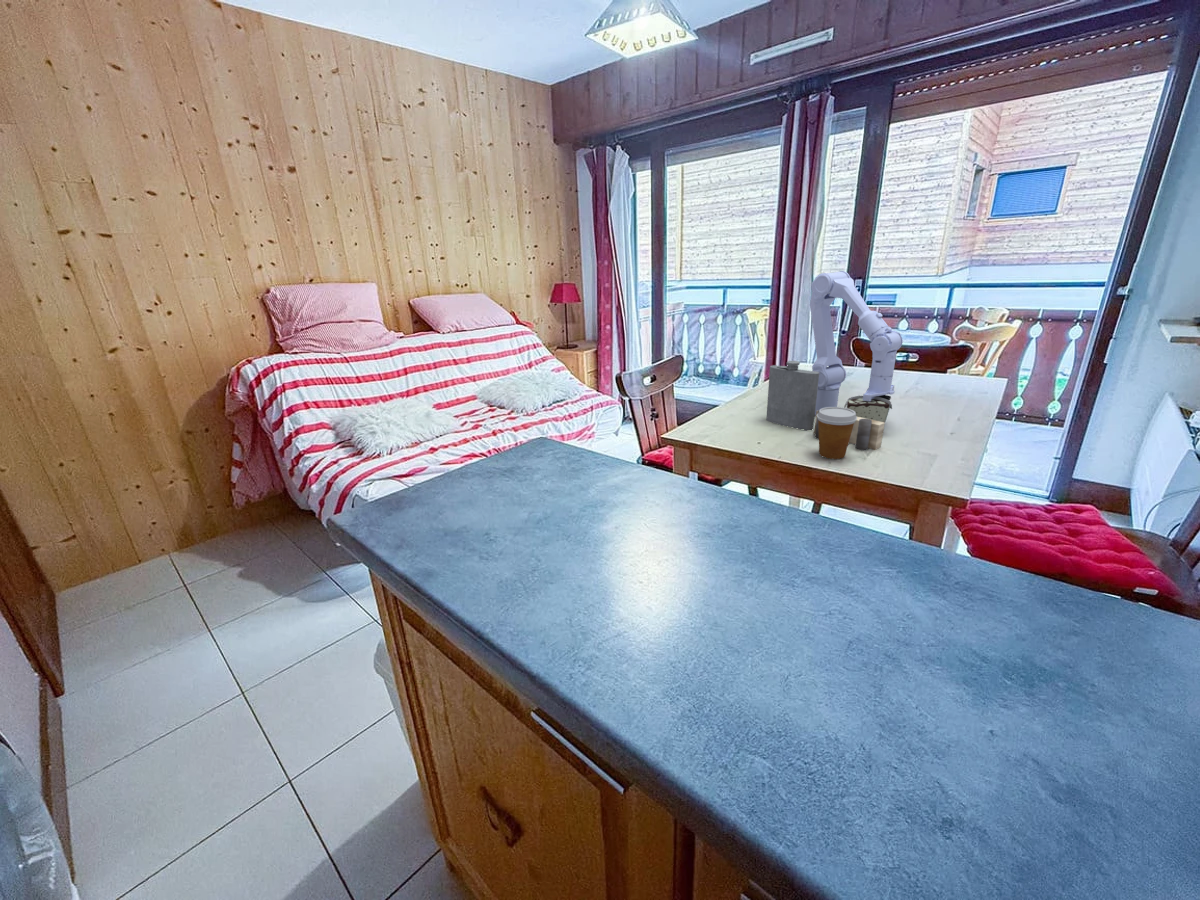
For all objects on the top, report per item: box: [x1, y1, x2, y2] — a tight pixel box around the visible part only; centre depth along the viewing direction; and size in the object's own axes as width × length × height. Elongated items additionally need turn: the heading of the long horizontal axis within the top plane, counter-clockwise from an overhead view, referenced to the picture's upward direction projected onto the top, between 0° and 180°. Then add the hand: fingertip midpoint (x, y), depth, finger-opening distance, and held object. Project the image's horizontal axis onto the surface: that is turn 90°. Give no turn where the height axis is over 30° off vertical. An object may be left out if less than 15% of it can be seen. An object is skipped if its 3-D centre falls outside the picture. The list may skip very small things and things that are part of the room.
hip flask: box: [765, 360, 819, 431], centre depth 153 cm, size 16×4×20 cm, turn 38°
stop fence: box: [813, 410, 886, 451], centre depth 140 cm, size 18×6×8 cm, turn 37°
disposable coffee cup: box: [817, 406, 857, 460], centre depth 131 cm, size 10×10×12 cm
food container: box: [843, 395, 893, 423], centre depth 146 cm, size 12×6×10 cm, turn 76°
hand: (874, 419), depth 150 cm, fingers closed
